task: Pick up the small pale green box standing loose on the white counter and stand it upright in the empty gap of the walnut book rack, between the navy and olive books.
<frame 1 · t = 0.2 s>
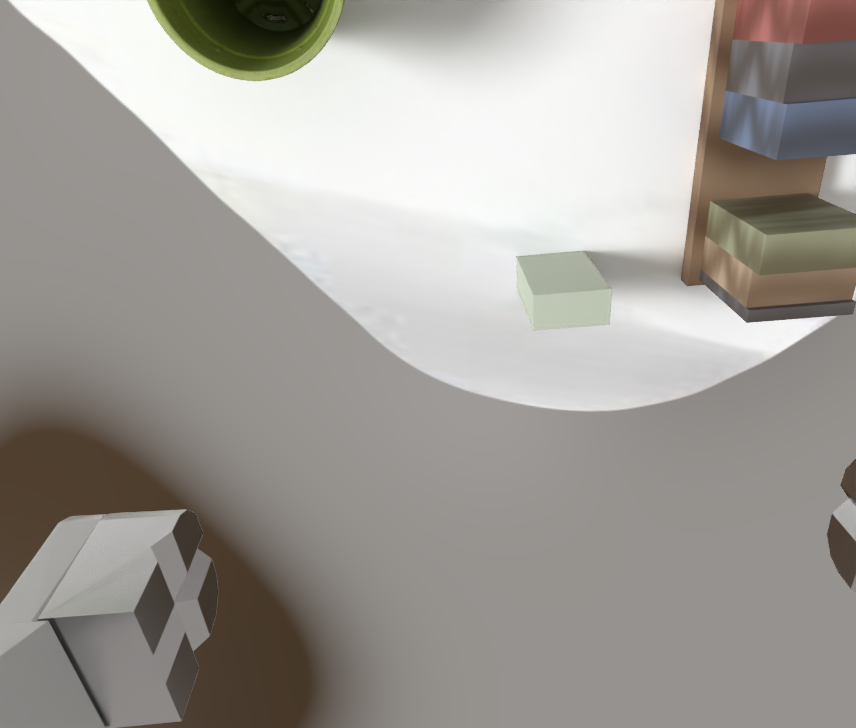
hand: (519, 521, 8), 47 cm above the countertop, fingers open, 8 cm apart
book rack: (759, 137, 51), on the countertop
pale green box: (549, 269, 57), on the countertop
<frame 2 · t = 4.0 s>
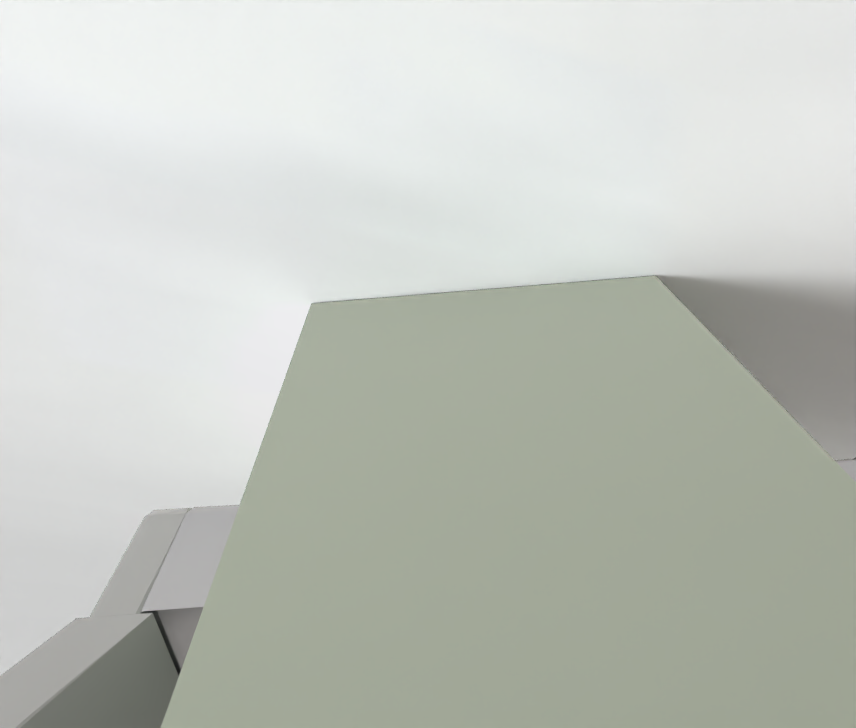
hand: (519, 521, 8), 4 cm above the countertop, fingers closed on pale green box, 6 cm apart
pale green box: (485, 365, 12), on the countertop, touching gripper
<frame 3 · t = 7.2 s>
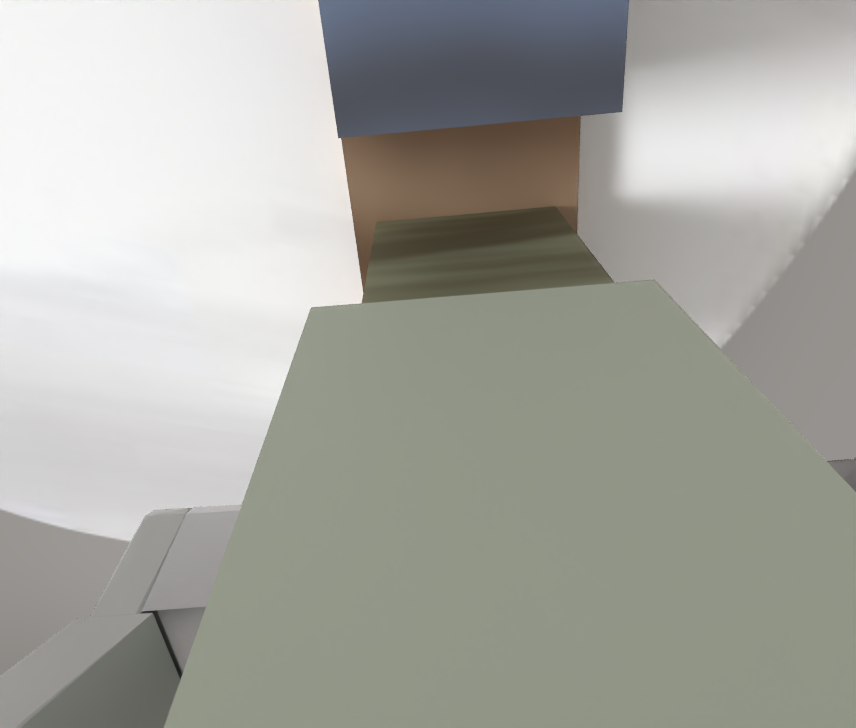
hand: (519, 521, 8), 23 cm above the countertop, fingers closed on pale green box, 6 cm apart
book rack: (456, 101, 27), on the countertop
pale green box: (484, 368, 12), point 19 cm above the countertop, touching gripper
when the fingers open (7 cm above the countertop, at t = 10.7 s): pale green box drops 1 cm, resting on book rack.
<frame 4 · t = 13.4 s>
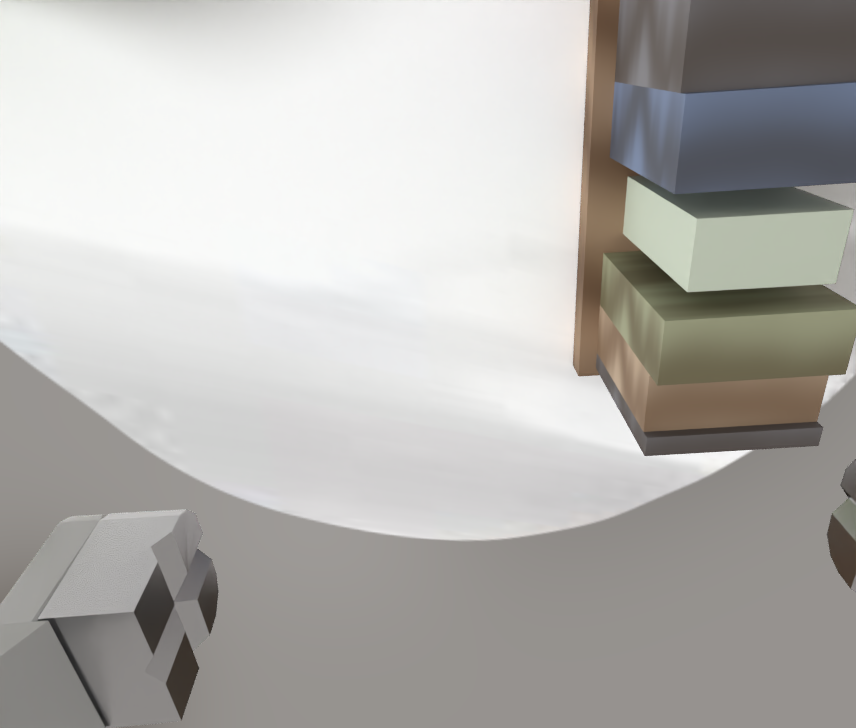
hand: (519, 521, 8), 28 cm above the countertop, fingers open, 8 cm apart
book rack: (676, 157, 33), on the countertop
pale green box: (682, 202, 33), point 1 cm above the countertop, touching book rack
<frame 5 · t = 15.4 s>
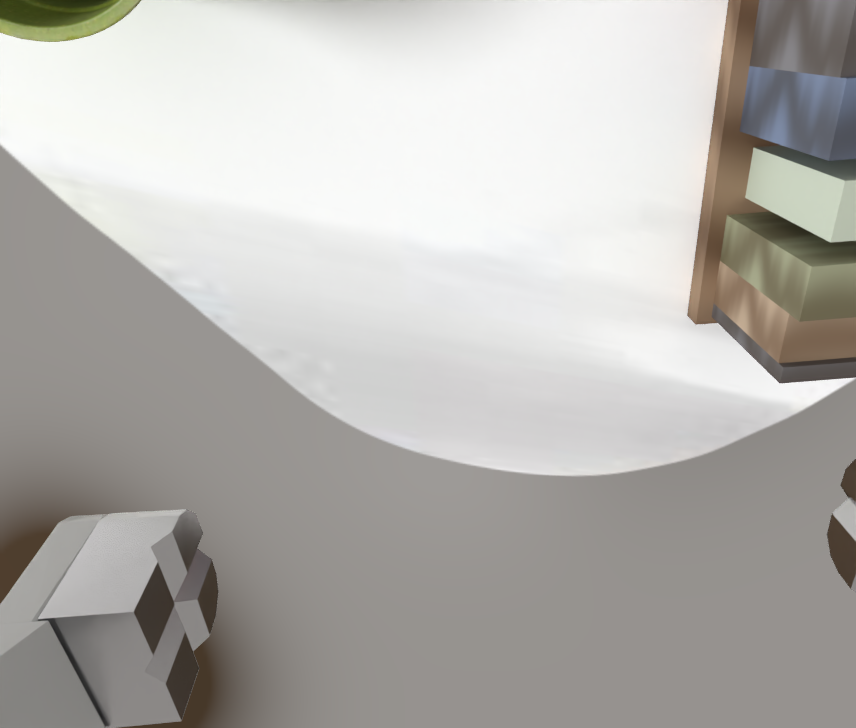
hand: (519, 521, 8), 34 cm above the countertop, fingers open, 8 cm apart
book rack: (792, 130, 39), on the countertop
pale green box: (798, 169, 38), point 1 cm above the countertop, touching book rack
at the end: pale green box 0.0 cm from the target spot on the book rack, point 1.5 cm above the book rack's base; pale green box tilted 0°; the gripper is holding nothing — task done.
